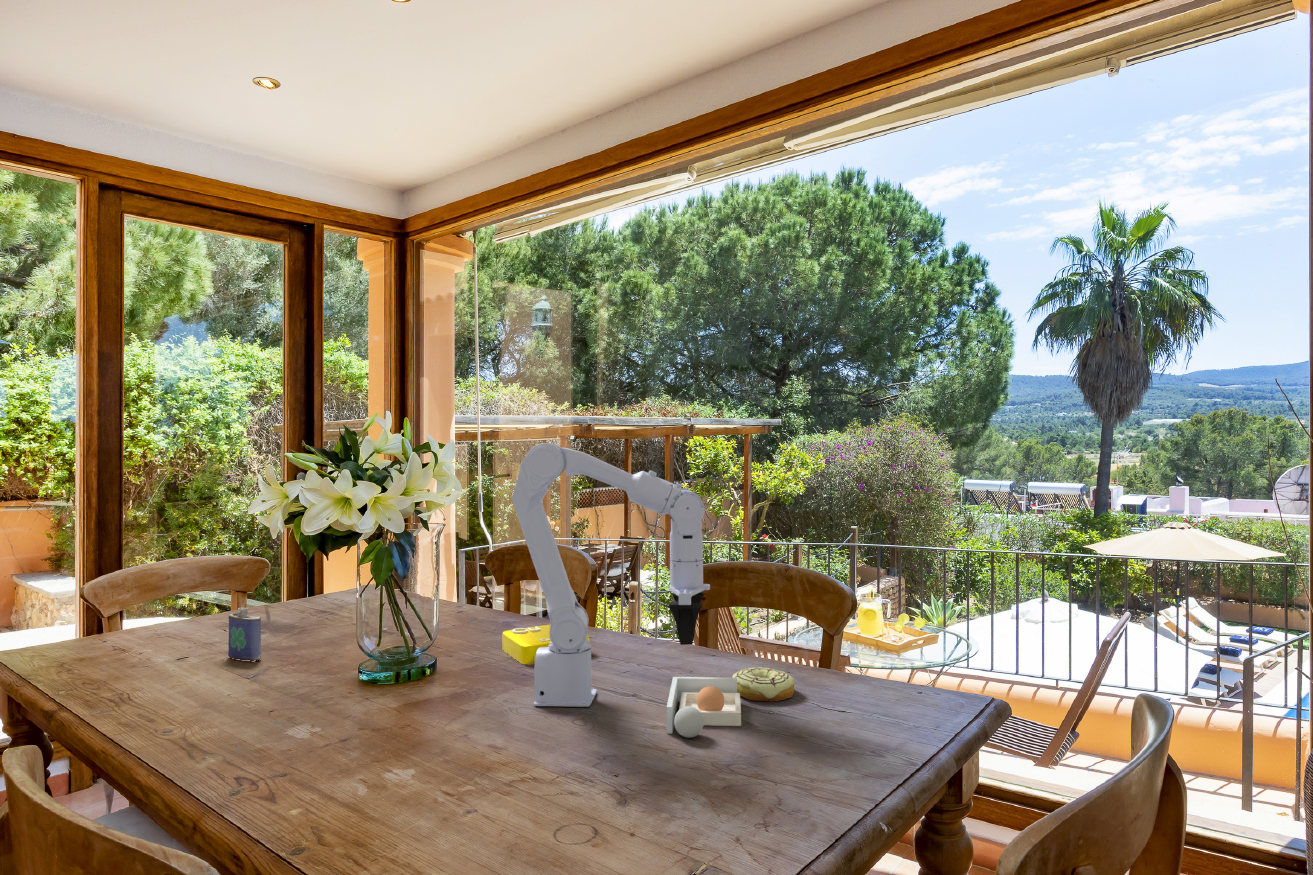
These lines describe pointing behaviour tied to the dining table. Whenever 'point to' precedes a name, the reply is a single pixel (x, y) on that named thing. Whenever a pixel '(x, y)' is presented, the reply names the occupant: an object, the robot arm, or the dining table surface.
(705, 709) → the terracotta ball
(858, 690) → the dining table surface
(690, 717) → the grey ball
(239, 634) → the flask
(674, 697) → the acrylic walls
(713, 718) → the ceramic dish
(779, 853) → the dining table surface
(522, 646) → the element tile
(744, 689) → the decorated donut
